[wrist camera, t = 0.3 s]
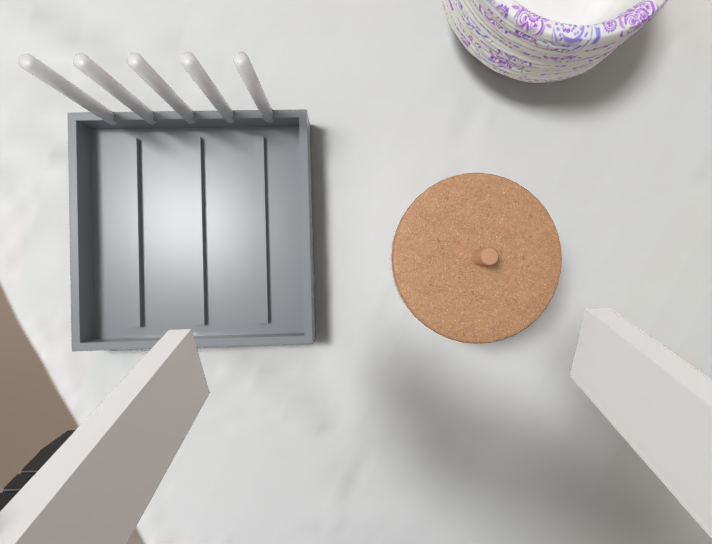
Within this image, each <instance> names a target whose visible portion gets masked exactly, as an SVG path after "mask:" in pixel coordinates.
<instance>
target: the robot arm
mask: <svg viewBox="0 0 712 544" xmlns="http://www.w3.org/2000/svg"><path fill="white" fill-rule="evenodd" d="M570 377H571V378H572V379H573V380H574V381H575V383H576V384H577V385H578V386H579V387H580V388H581V389H582V391H583V392H584V393H585V394H586V395H587V396H588V397H589V399H590V400H591V401H592V402H593V403H594V404H595V405H596V407H597V408H598V409H599V410H600V411H601V412H602V414H603V415H604V416H605V417H606V418H607V419H608V420H609V422H610V423H611V424H612V425H613V426H614V427H615V428H616V430H617V431H618V432H619V433H620V434H621V435H622V436H623V438H624V439H625V440H626V441H627V442H628V443H629V445H630V446H631V447H632V448H633V449H634V450H635V451H636V453H637V454H638V455H639V456H640V457H641V458H642V459H643V461H644V462H645V463H646V464H647V465H648V466H649V467H650V469H651V470H652V471H653V472H654V473H655V474H656V476H657V477H658V478H659V479H660V480H661V481H662V482H663V484H664V485H665V486H666V487H667V488H668V489H669V490H670V492H671V493H672V494H673V495H674V496H675V497H676V498H677V500H678V501H679V502H680V503H681V504H682V505H683V507H684V508H685V509H686V510H687V511H688V512H689V513H690V515H691V516H692V517H693V518H694V519H695V520H696V521H697V523H698V524H699V525H700V526H701V527H702V528H703V529H704V531H705V532H706V533H707V534H708V535H709V536H710V538H711V539H712V379H710V378H709V377H707V376H706V375H704V374H703V373H702V372H700V371H699V370H697V369H696V368H695V367H693V366H692V365H690V364H689V363H687V362H686V361H685V360H683V359H682V358H680V357H679V356H677V355H676V354H675V353H673V352H672V351H670V350H669V349H667V348H666V347H665V346H663V345H662V344H660V343H659V342H657V341H656V340H655V339H653V338H652V337H650V336H649V335H647V334H646V333H645V332H643V331H642V330H640V329H639V328H637V327H636V326H635V325H633V324H632V323H630V322H629V321H627V320H626V319H625V318H623V317H622V316H620V315H619V314H618V313H616V312H615V311H613V310H612V309H610V308H593V309H586V310H585V314H584V318H583V322H582V326H581V331H580V335H579V339H578V343H577V347H576V352H575V356H574V360H573V364H572V368H571V372H570ZM209 393H210V392H209V389H208V385H207V382H206V378H205V375H204V372H203V368H202V365H201V361H200V358H199V354H198V351H197V347H196V344H195V341H194V337H193V334H192V330H191V329H181V330H168V331H167V332H166V334H165V335H164V336H163V337H162V338H161V339H160V340H159V341H158V342H157V343H156V344H155V345H154V346H153V348H152V349H151V350H150V351H149V352H148V353H147V354H146V355H145V356H144V357H143V358H142V359H141V360H140V362H139V363H138V364H137V365H136V366H135V367H134V368H133V369H132V370H131V371H130V372H129V373H128V375H127V376H126V377H125V378H124V379H123V380H122V381H121V382H120V383H119V384H118V385H117V386H116V387H115V389H114V390H113V391H112V392H111V393H110V394H109V395H108V396H107V397H106V398H105V399H104V400H103V401H102V403H101V404H100V405H99V406H98V407H97V408H96V409H95V410H94V411H93V412H92V413H91V414H90V415H89V417H88V418H87V419H86V420H85V421H84V422H83V423H82V424H81V425H80V426H79V427H78V428H77V429H76V430H70V431H67V432H65V433H64V434H62V435H61V436H60V437H58V438H57V439H55V440H54V441H53V442H51V443H50V444H49V445H47V446H46V447H44V448H43V449H42V450H41V451H40V452H39V453H38V454H37V455H36V456H35V457H34V458H33V459H32V460H31V461H30V462H29V463H28V464H27V465H26V466H25V467H24V468H23V469H22V472H21V474H17V475H16V477H14V478H13V479H12V480H11V481H10V482H9V483H8V484H7V486H6V487H5V488H4V491H3V492H2V493H0V544H127V542H128V540H129V538H130V536H131V534H132V533H133V531H134V529H135V527H136V526H137V524H138V522H139V520H140V518H141V516H142V515H143V513H144V511H145V509H146V507H147V506H148V504H149V502H150V500H151V498H152V497H153V495H154V493H155V491H156V489H157V487H158V486H159V484H160V482H161V480H162V478H163V477H164V475H165V473H166V471H167V469H168V468H169V466H170V464H171V462H172V460H173V458H174V457H175V455H176V453H177V451H178V449H179V448H180V446H181V444H182V442H183V440H184V438H185V437H186V435H187V433H188V431H189V429H190V428H191V426H192V424H193V422H194V420H195V419H196V417H197V415H198V413H199V411H200V409H201V408H202V406H203V404H204V402H205V400H206V399H207V397H208V395H209Z"/></svg>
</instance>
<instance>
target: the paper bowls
mask: <svg viewBox="0 0 712 544" xmlns="http://www.w3.org/2000/svg"><path fill="white" fill-rule="evenodd" d="M667 1H668V0H442V2H443V6H444V10H445V14H446V17H447V20H448V22H449V24H450V26H451V27H452V29H453V31H454V32H455V34H456V36H457V37H458V38H459V40H460V41H461V43H462V44H463V45H464V47H465V48H466V49H467V50H468V51H469V52H470V53H471V54H472V55H473V56H474V57H475V58H477V59H478V60H480V61H481V62H482V63H483V64H484V65H485V66H487V67H488V68H490V69H492V70H494V71H495V72H498V73H500V74H502V75H505V76H507V77H509V78H513V79H516V80H519V81H524V82H530V83H548V82H557V81H561V80H565V79H568V78H571V77H575V76H577V75H580V74H582V73H585V72H586V71H588V70H590V69H591V68H593V67H594V66H595V65H597V64H598V63H600V62H601V61H602V60H603V59H604V58H606V57H607V56H608V55H609V54H611V53H612V52H613V51H614V50H615V49H616V48H618V47H619V46H620V45H621V44H622V43H623V42H625V41H626V40H627V39H628V38H629V37H630V36H632V35H633V34H634V33H636V32H637V31H638V30H639V29H640V28H642V27H643V26H644V25H645V24H646V23H647V22H648V21H649V20H651V19H652V18H653V17H654V16H655V15H656V14H657V13H658V12H659V10H660V9H661V8H662V7H663V6H664V5H665V3H666V2H667Z"/></svg>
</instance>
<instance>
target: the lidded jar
mask: <svg viewBox="0 0 712 544" xmlns="http://www.w3.org/2000/svg"><path fill="white" fill-rule="evenodd" d="M389 259H390V272H391V276H392V281H393V284H394V286H395V289H396V291H397V293H398V295H399V297H400V298H401V300H402V302H403V303H404V304H405V306H406V307H407V308H408V309H409V310H410V311H411V312H412V314H413V315H414V316H415V317H416V318H417V319H418V320H419V321H421V322H422V323H423V324H424V325H425V326H427V327H428V328H430V329H431V330H433V331H434V332H436V333H438V334H440V335H442V336H445V337H447V338H449V339H452V340H456V341H460V342H465V343H476V344H477V343H490V342H495V341H499V340H503V339H506V338H508V337H511V336H513V335H515V334H517V333H519V332H520V331H522V330H524V329H525V328H527V327H528V326H529V325H530V324H531V323H533V322H534V321H535V320H536V319H537V318H538V317H539V316H540V315H541V313H542V312H543V311H544V310H545V309H546V307H547V305H548V304H549V302H550V301H551V299H552V297H553V295H554V292H555V290H556V288H557V285H558V281H559V277H560V273H561V261H562V258H561V245H560V241H559V236H558V233H557V230H556V227H555V225H554V222H553V220H552V219H551V217H550V215H549V213H548V212H547V210H546V209H545V207H544V206H543V205H542V204H541V202H540V201H539V200H538V199H537V198H536V197H535V196H534V195H533V194H531V193H530V192H529V191H528V190H527V189H525V188H524V187H522V186H520V185H519V184H517V183H515V182H513V181H511V180H509V179H506V178H504V177H500V176H496V175H493V174H484V173H467V174H461V175H457V176H452V177H450V178H447V179H445V180H442V181H440V182H438V183H436V184H435V185H433V186H431V187H429V188H428V189H427V190H426V191H424V192H423V193H422V194H421V195H420V196H418V197H417V198H416V200H415V201H414V202H413V203H412V204H411V205H410V206H409V208H408V209H407V211H406V212H405V214H404V215H403V217H402V218H401V220H400V223H399V225H398V227H397V229H396V231H395V233H394V236H393V240H392V243H391V248H390V258H389Z"/></svg>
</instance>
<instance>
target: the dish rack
mask: <svg viewBox="0 0 712 544" xmlns="http://www.w3.org/2000/svg"><path fill="white" fill-rule="evenodd" d="M180 63H181V65H182V66H183V67H184V68H185V70H186V71H187V72H188V74H189V75H190V76H191V77H192V79H193V80H194V81H195V82H196V84H197V85H198V86H199V88H200V89H201V90H202V91H203V93H204V94H205V95H206V97H207V98H208V99H209V100H210V102H211V103H212V104H213V106H214V107H215V108H216V109H217V111H192V110H191V109H190V108H189V107H188V106H187V104H186V103H185V102H184V101H183V100H182V99H181V98H180V97H179V96H178V95H177V94H176V93H175V92H174V91H173V89H172V88H171V87H170V86H169V85H168V84H167V83H166V82H165V81H164V80H163V79H162V78H161V77H160V76H159V75H158V73H157V72H156V71H155V70H154V69H153V68H152V67H151V66H150V65H149V64H148V63H147V62H146V61H145V60H144V58H143V57H142V56H141V55H140V54H138V53H131V54H129V55H128V57H127V64H128V66H129V67H130V68H132V69H133V70H134V71H135V72H136V73H137V74H138V75H139V76H140V77H141V78H142V79H143V80H144V81H145V82H146V83H147V84H148V85H149V86H150V87H151V88H152V89H153V90H154V91H155V92H156V93H157V94H159V95H160V96H161V97H162V98H163V99H164V100H165V101H166V102H167V103H168V104H169V105H170V106H171V107H172V108H173V109H174V110H175V111H159V112H153V111H152V110H150V109H149V108H148V107H147V106H146V105H144V104H143V103H142V102H141V101H140V100H139V99H137V98H136V97H135V96H134V95H133V94H131V93H130V92H129V91H128V90H127V89H126V88H124V87H123V86H122V85H121V84H120V83H118V82H117V81H116V80H115V79H114V78H113V77H111V76H110V75H109V74H108V73H107V72H106V71H104V70H103V69H102V68H101V67H100V66H98V65H97V64H96V63H95V62H94V61H93V60H91V59H90V58H89V57H88V56H87V55H85V54H83V53H79V54H76V55H75V56H74V58H73V64H74V66H75V67H76V68H78V69H79V70H80V71H82V72H83V73H84V74H85V75H87V76H88V77H89V78H91V79H92V80H93V81H94V82H96V83H97V84H98V85H100V86H101V87H102V88H104V89H105V90H106V91H107V92H109V93H110V94H111V95H113V96H114V97H115V98H117V99H118V100H119V101H120V102H122V103H123V104H124V105H126V106H127V107H128V108H130V109H131V110H132V111H133V112H112V111H111V110H109V109H108V108H106V107H105V106H103V105H102V104H101V103H99V102H98V101H96V100H95V99H93V98H92V97H91V96H89V95H88V94H86V93H85V92H83V91H82V90H81V89H79V88H78V87H76V86H75V85H73V84H72V83H71V82H69V81H68V80H66V79H65V78H63V77H62V76H61V75H59V74H58V73H56V72H55V71H53V70H52V69H51V68H49V67H48V66H46V65H45V64H43V63H42V62H41V61H39V60H38V59H36V58H35V57H33V56H32V55H30V54H23V55H21V56H20V58H19V65H20V67H21V68H23V69H24V70H26V71H28V72H29V73H31V74H32V75H34V76H35V77H37V78H38V79H40V80H42V81H43V82H45V83H46V84H48V85H49V86H51V87H53V88H54V89H56V90H57V91H59V92H60V93H62V94H63V95H65V96H67V97H68V98H70V99H71V100H73V101H74V102H76V103H78V104H79V105H81V106H82V107H84V108H85V109H87V110H88V111H90V112H83V113H68V160H69V217H70V274H71V331H72V351H95V350H126V349H152V348H153V346H154V345H155V344H156V343H157V342H158V341H159V340H160V339H161V338H162V337H163V336H164V335H165V334H166V332H167V331H168V330H181V329H191V330H192V334H193V337H194V341H195V344H196V347H219V346H250V345H281V344H312V343H313V341H314V339H315V300H314V260H313V221H312V182H311V143H310V122H309V118H308V114H307V110H272V109H271V107H270V104H269V102H268V100H267V98H266V95H265V93H264V91H263V89H262V87H261V84H260V82H259V80H258V78H257V75H256V73H255V71H254V69H253V67H252V64H251V62H250V60H249V58H248V56H247V54H246V53H244V52H237V53H236V54H235V55H234V56H233V63H234V64H235V66H236V68H237V70H238V72H239V74H240V76H241V78H242V80H243V81H244V83H245V85H246V87H247V89H248V91H249V93H250V95H251V96H252V98H253V100H254V102H255V104H256V106H257V108H258V110H234V111H232V109H231V108H230V106H229V105H228V103H227V102H226V101H225V99H224V98H223V96H222V95H221V93H220V92H219V90H218V89H217V88H216V86H215V85H214V83H213V82H212V80H211V79H210V77H209V76H208V75H207V73H206V72H205V70H204V69H203V67H202V66H201V64H200V63H199V62H198V60H197V59H196V57H195V56H194V55H193V54H192V53H190V52H186V53H184V54H182V55H181V57H180Z"/></svg>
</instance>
